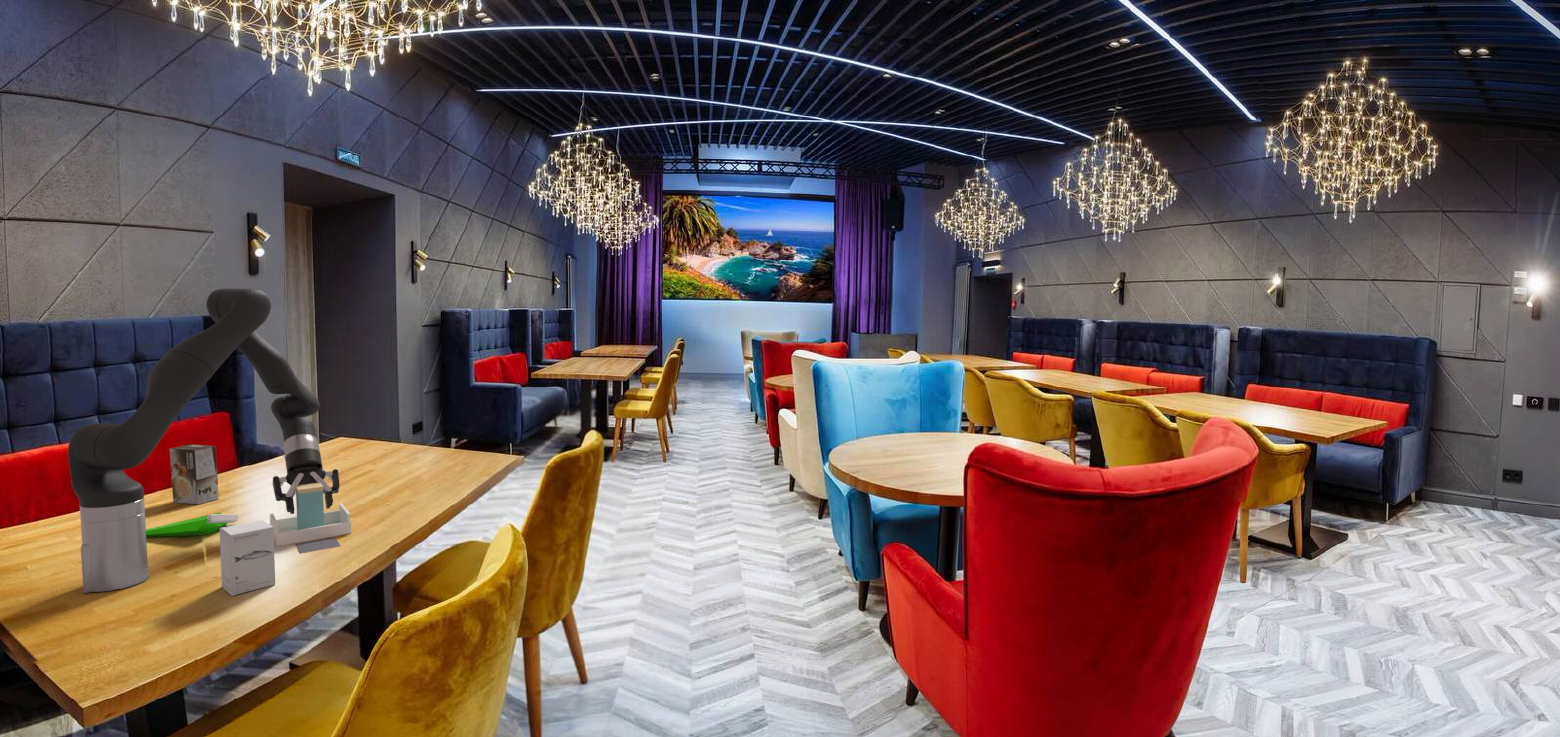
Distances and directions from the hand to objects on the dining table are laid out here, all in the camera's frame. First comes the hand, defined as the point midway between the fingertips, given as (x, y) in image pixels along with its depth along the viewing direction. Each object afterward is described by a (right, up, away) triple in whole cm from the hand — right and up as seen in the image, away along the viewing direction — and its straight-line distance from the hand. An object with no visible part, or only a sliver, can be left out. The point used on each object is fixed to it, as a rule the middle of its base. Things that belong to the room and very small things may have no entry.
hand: (310, 509), depth 164 cm
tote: (-1, -7, +2) cm, 7 cm away
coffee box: (-53, -4, +27) cm, 60 cm away
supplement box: (+8, -10, -29) cm, 32 cm away
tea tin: (-1, -6, +2) cm, 7 cm away
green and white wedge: (-33, -7, -2) cm, 33 cm away
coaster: (+7, -8, -7) cm, 12 cm away
